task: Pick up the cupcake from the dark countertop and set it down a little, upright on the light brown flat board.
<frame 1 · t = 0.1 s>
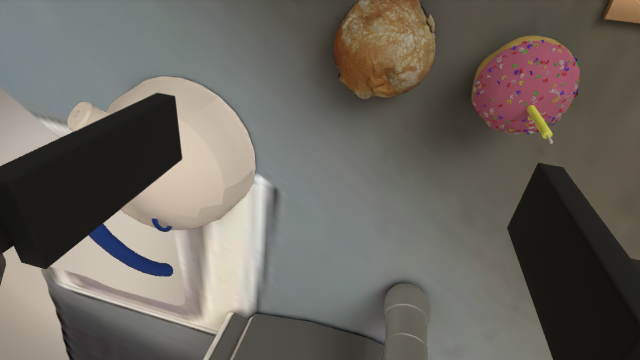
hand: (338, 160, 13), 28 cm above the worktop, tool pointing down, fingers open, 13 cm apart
kettle: (187, 148, 50), on the worktop
grey folded panel: (320, 359, 67), on the worktop
bread roll: (384, 45, 37), on the worktop
plastic bottle: (407, 293, 54), on the worktop
cupcake: (511, 75, 36), on the worktop
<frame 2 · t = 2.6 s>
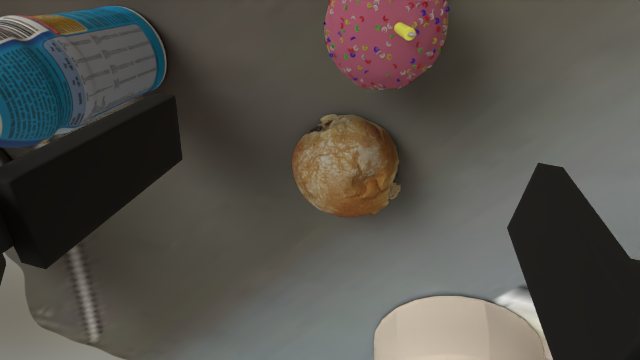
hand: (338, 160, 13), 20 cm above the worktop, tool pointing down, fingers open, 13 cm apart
kettle: (452, 349, 46), on the worktop
bread roll: (351, 159, 36), on the worktop
cupcake: (388, 21, 29), on the worktop
beverage bottle: (132, 50, 35), on the worktop
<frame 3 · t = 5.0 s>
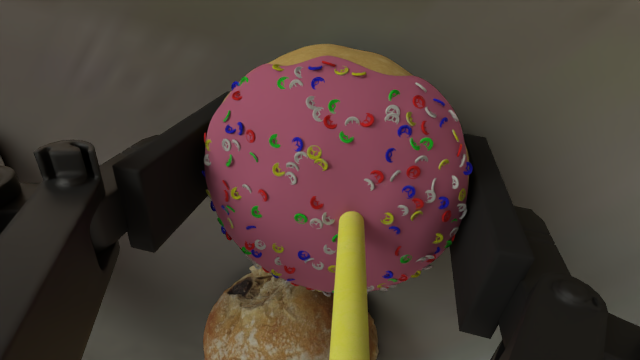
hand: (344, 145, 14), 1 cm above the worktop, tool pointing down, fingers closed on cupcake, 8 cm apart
bread roll: (306, 317, 23), on the worktop
cupcake: (352, 131, 16), on the worktop, touching gripper
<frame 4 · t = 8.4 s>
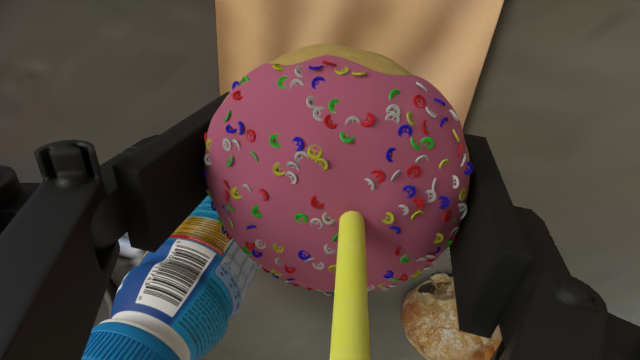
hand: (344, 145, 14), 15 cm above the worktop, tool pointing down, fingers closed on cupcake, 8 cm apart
bread roll: (455, 306, 37), on the worktop
light brown flat board: (345, 25, 26), on the worktop
cupcake: (352, 130, 16), point 13 cm above the worktop, touching gripper
beverage bottle: (247, 206, 37), on the worktop
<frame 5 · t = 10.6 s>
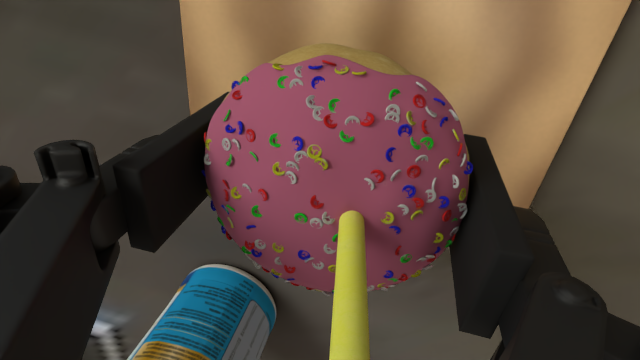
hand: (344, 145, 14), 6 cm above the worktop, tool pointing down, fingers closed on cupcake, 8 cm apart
light brown flat board: (362, 100, 19), on the worktop
cupcake: (352, 130, 16), point 4 cm above the worktop, touching gripper
beverage bottle: (233, 295, 30), on the worktop
when the fingers open (2 cm above the worktop, at t = 12.1 s): cupcake stays where it is, resting on light brown flat board.
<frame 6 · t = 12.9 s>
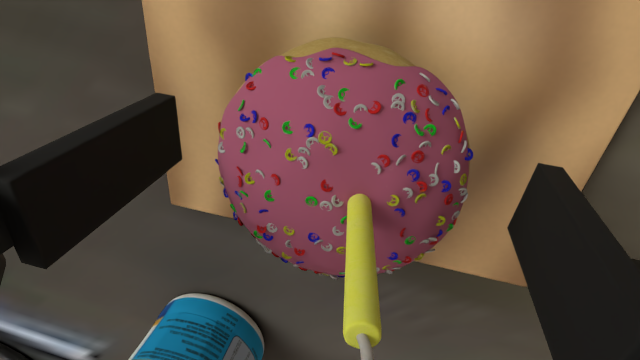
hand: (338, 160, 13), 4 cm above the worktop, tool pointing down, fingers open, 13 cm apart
light brown flat board: (356, 120, 17), on the worktop
cupcake: (356, 123, 16), resting on light brown flat board
beverage bottle: (217, 325, 28), on the worktop
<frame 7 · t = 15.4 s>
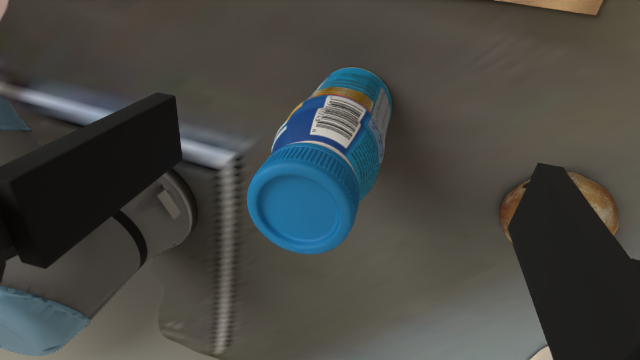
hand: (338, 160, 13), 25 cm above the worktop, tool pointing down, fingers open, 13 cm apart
bread roll: (552, 209, 38), on the worktop
beverage bottle: (353, 104, 38), on the worktop
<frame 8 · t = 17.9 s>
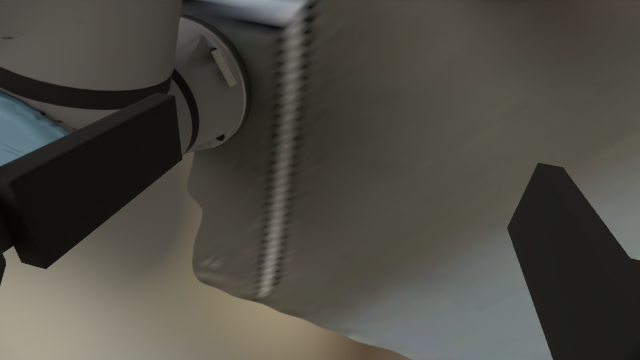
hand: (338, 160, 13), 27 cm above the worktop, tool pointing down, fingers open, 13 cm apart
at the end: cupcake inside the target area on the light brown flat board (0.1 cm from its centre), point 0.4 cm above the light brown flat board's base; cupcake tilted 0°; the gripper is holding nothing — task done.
